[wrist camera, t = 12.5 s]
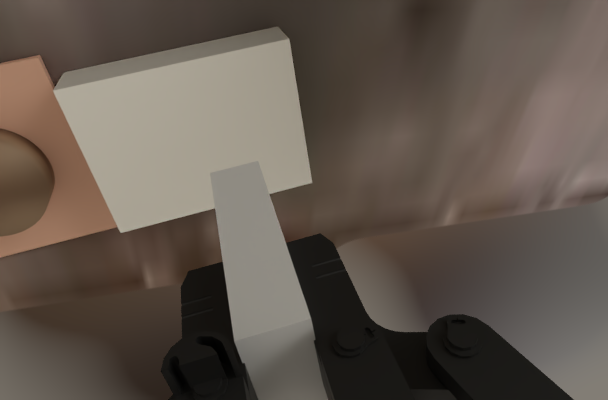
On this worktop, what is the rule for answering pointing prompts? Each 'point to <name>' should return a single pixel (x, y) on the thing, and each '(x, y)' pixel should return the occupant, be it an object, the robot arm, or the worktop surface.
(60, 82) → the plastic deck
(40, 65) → the rubber mat
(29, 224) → the walnut coaster
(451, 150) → the worktop surface
